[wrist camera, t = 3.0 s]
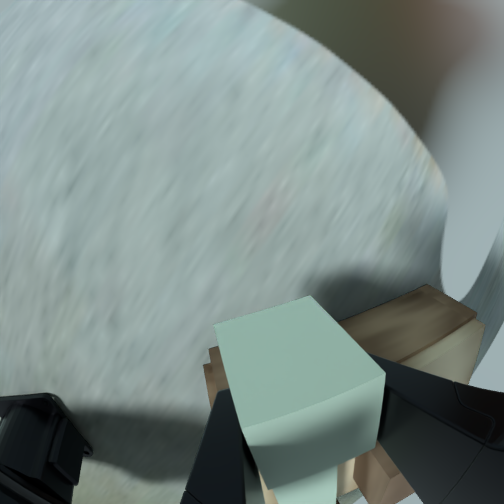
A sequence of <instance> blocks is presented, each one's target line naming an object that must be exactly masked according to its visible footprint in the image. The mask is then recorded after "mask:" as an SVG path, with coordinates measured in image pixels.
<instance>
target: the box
mask: <svg viewBox="0 0 504 504" xmlns="http://www.w3.org/2000/svg"><path fill="white" fill-rule="evenodd" d="M476 316H477V312H475V311H473V310H472V309H470V308H468V307H467V306H465V305H463V304H461V303H460V302H458V301H456V300H454V299H453V298H451V297H449V296H448V295H446V294H444V293H442V292H441V291H439V290H437V289H435V288H433V287H432V286H430V285H428V284H427V285H424V286H422V287H420V288H418V289H416V290H414V291H411V292H409V293H407V294H405V295H403V296H400V297H398V298H396V299H393V300H391V301H389V302H386V303H384V304H382V305H379V306H377V307H375V308H372V309H370V310H367V311H365V312H362V313H360V314H357V315H355V316H352V317H350V318H347V319H345V320H342V321H339V322H337V323H338V324H339V325H340V326H341V327H342V328H343V329H344V330H345V331H346V332H347V333H348V334H349V335H350V337H351V338H352V339H353V340H354V341H355V342H356V343H357V344H358V345H359V346H360V347H361V348H362V349H363V350H364V351H365V352H368V353H371V354H374V355H376V356H379V357H382V358H385V359H388V360H391V361H394V362H397V363H402V362H404V361H405V360H407V359H409V358H411V357H413V356H415V355H416V354H418V353H420V352H422V351H423V350H425V349H427V348H428V347H430V346H432V345H434V344H435V343H437V342H439V341H440V340H442V339H443V338H445V337H447V336H448V335H450V334H451V333H453V332H454V331H456V330H458V329H459V328H461V327H462V326H464V325H465V324H467V323H468V322H470V321H471V320H472V319H474V318H475V319H476ZM209 354H210V359H211V363H209V364H205V365H203V367H204V373H205V379H206V384H207V390H208V396H209V401H210V406H211V409H212V406H213V403H214V400H215V397H216V394H217V392H218V391H219V390H223V389H227V388H230V387H229V383H228V380H227V376H226V372H225V369H224V365H223V361H222V357H221V353H220V349H219V346H217V347H214V348H210V349H209ZM336 504H339V502H338V500H337V498H336Z"/></svg>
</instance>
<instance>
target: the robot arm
mask: <svg viewBox="0 0 504 504" xmlns="http://www.w3.org/2000/svg"><path fill="white" fill-rule="evenodd" d="M366 353H367V354H368V355H369V356H370V357H371V358H372V359H373V360H374V361H375V362H376V363H377V364H378V365H379V366H380V368H381V369H382V370H383V371H384V372H385V373H386V376H385V385H384V394H383V401H382V409H381V416H380V422H379V428H378V434H377V441H378V442H379V443H380V445H381V446H382V448H383V449H384V450H385V452H386V453H387V454H388V456H389V457H390V459H391V460H392V461H393V463H394V464H395V465H396V467H397V468H398V469H399V471H400V472H401V474H402V475H403V476H404V478H405V479H406V480H407V482H408V483H409V484H410V486H411V487H412V488H413V490H414V491H415V493H416V494H417V495H418V497H419V498H420V499H421V501H422V502H423V503H424V504H504V393H503V392H497V391H491V390H487V389H482V388H477V387H474V386H470V385H466V384H463V383H459V382H456V381H454V382H453V381H452V380H449V379H446V378H443V377H439V376H436V375H433V374H430V373H427V372H424V371H421V370H418V369H415V368H412V367H409V366H406V365H403V364H400V363H397V362H394V361H391V360H388V359H385V358H382V357H379V356H376V355H374V354H371V353H368V352H366ZM0 417H1V421H0V504H72V496H73V489H74V486H77V485H78V483H79V477H80V470H81V464H82V459H83V457H88V456H92V455H93V449H92V448H91V447H90V445H89V444H88V443H87V442H86V441H85V440H84V439H83V437H82V436H81V435H80V434H79V433H78V431H77V430H76V429H75V428H74V426H73V425H72V424H71V423H70V421H69V420H68V419H67V418H66V416H65V415H64V414H63V412H62V411H61V410H60V408H59V407H58V406H57V404H56V403H55V401H54V400H53V399H52V398H51V396H49V395H47V394H35V395H25V396H13V397H0ZM185 490H186V491H184V493H183V496H182V499H181V502H180V504H265V499H264V494H263V490H262V485H261V480H260V475H259V469H258V467H257V465H256V462H255V460H254V458H253V455H252V453H251V451H250V448H249V446H248V444H247V441H246V439H245V436H244V434H243V432H242V429H241V426H240V423H239V419H238V416H237V412H236V409H235V405H234V402H233V398H232V394H231V391H230V388H227V389H223V390H219V391H218V392H217V394H216V397H215V400H214V403H213V406H212V409H211V412H210V415H209V418H208V421H207V424H206V427H205V430H204V433H203V437H202V440H201V443H200V446H199V449H198V452H197V455H196V458H195V461H194V464H193V467H192V470H191V473H190V476H189V479H188V482H187V485H186V488H185Z"/></svg>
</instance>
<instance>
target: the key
mask: <svg viewBox="0 0 504 504" xmlns="http://www.w3.org/2000/svg"><path fill="white" fill-rule="evenodd" d="M213 325H214V329H215V333H216V337H217V341H218V345H219V349H220V353H221V357H222V361H223V365H224V369H225V372H226V376H227V380H228V383H229V387H230V391H231V394H232V398H233V402H234V405H235V409H236V412H237V416H238V419H239V423H240V426H241V429H242V432H243V434H244V436H245V439H246V441H247V444H248V446H249V448H250V451H251V453H252V455H253V458H254V460H255V462H256V465H257V467H258V469H259V471H260V474H261V476H262V478H263V480H264V482H265V485H266V487H267V489H268V490H270V489H272V490H273V492H274V495H275V497H276V499H277V501H278V504H336V493H337V465H339V464H342V463H344V462H346V461H348V460H351V459H353V458H355V457H357V456H359V455H361V454H363V453H365V452H367V451H369V450H371V449H373V448H375V445H376V440H377V434H378V428H379V422H380V416H381V409H382V401H383V394H384V385H385V376H386V373H385V372H384V371H383V370H382V369H381V368H380V366H379V365H378V364H377V363H376V362H375V361H374V360H373V359H372V358H371V357H370V356H369V355H368V354H367V353H366V352H365V351H364V350H363V349H362V348H361V347H360V346H359V345H358V344H357V343H356V342H355V341H354V340H353V339H352V338H351V337H350V335H349V334H348V333H347V332H346V331H345V330H344V329H343V328H342V327H341V326H340V325H339V324H338V323H337V322H336V321H335V320H334V319H333V318H332V317H331V316H330V315H329V314H328V313H327V312H326V311H325V310H324V309H323V308H322V307H321V306H320V305H319V304H318V303H317V302H316V301H315V300H314V299H313V298H312V297H311V296H310V295H309V296H306V297H303V298H300V299H297V300H294V301H291V302H287V303H284V304H281V305H278V306H275V307H271V308H268V309H265V310H262V311H258V312H255V313H251V314H248V315H245V316H241V317H238V318H234V319H231V320H227V321H224V322H220V323H217V324H213Z"/></svg>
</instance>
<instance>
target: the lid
mask: <svg viewBox="0 0 504 504" xmlns="http://www.w3.org/2000/svg"><path fill="white" fill-rule="evenodd" d="M484 329H485V324H483V323H482V322H480V321H478V320H477V319H475V318H474V319H472V320H471V321H470V322H468V323H467V324H465V325H464V326H462V327H461V328H459V329H458V330H456V331H454V332H453V333H451V334H450V335H448V336H447V337H445V338H443V339H442V340H440V341H439V342H437V343H435V344H434V345H432V346H430V347H428V348H427V349H425V350H423V351H422V352H420V353H418V354H416V355H415V356H413V357H411V358H409V359H407V360H405V361H404V362H402V363H400V364H403V365H406V366H409V367H412V368H415V369H418V370H421V371H424V372H427V373H430V374H433V375H436V376H439V377H443V378H446V379H449V380H452V381H453V382H454V381H456V382H459V383H463V384H466V385H468V384H469V381H470V378H471V375H472V372H473V369H474V366H475V362H476V359H477V356H478V352H479V349H480V345H481V341H482V337H483V333H484ZM259 475H260V480H261V485H262V490H263V494H264V499H265V504H278V501H277V499H276V497H275V495H274V492H273V490H272V489H270V490H268V489H267V487H266V485H265V482H264V480H263V478H262V476H261V474H260V471H259ZM357 488H359V489H360V491H361V492H362V494H363V496H364V497H365V499H366V500H367V502H368V504H396V503H398V502H399V501H401V500H403V499H404V498H406V497H408V496H409V495H411V494H413V493H414V492H415V491H414V490H413V488H412V487H411V486H410V484H409V483H408V482H407V480H406V479H405V478H404V476H403V475H402V474H401V472H400V471H399V469H398V468H397V467H396V465H395V464H394V463H393V461H392V460H391V459H390V457H389V456H388V454H387V453H386V452H385V450H384V449H383V448H382V446H381V445H380V443H379V442H378V441H377V440H376V445H375V448H373V449H371V450H369V451H367V452H365V453H363V454H361V455H359V456H357V457H355V458H353V459H351V460H348V461H346V462H344V463H342V464H339V465H337V493H336V498H337V497H339V496H341V495H344V494H346V493H348V492H350V491H353V490H355V489H357Z"/></svg>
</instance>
